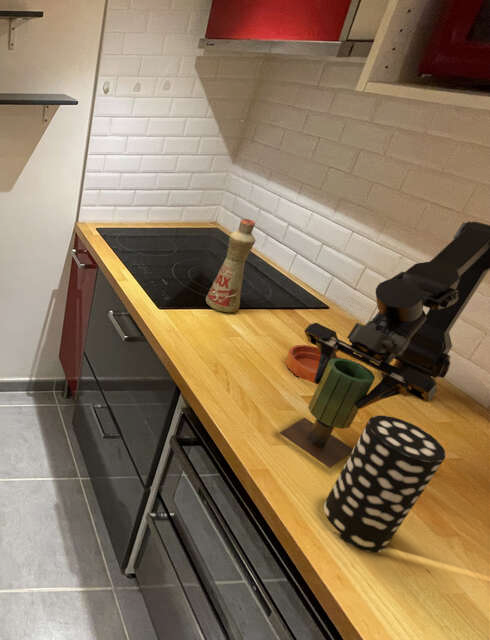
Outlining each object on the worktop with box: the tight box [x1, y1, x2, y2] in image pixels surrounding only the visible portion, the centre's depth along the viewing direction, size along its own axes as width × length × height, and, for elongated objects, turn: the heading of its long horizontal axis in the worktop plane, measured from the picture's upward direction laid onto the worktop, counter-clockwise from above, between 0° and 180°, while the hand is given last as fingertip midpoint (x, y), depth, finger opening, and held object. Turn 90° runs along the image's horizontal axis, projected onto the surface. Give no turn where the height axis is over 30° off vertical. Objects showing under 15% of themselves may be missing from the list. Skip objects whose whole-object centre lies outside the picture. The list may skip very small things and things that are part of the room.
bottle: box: [205, 218, 256, 314], centre depth 127 cm, size 9×9×28 cm
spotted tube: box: [323, 415, 447, 553], centre depth 69 cm, size 8×8×20 cm
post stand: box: [279, 417, 354, 469], centre depth 86 cm, size 9×9×6 cm
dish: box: [285, 344, 342, 385], centre depth 106 cm, size 12×12×4 cm
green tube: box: [307, 357, 376, 430], centre depth 82 cm, size 6×6×11 cm
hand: (335, 394), depth 81 cm, fingers closed on green tube, 6 cm apart
